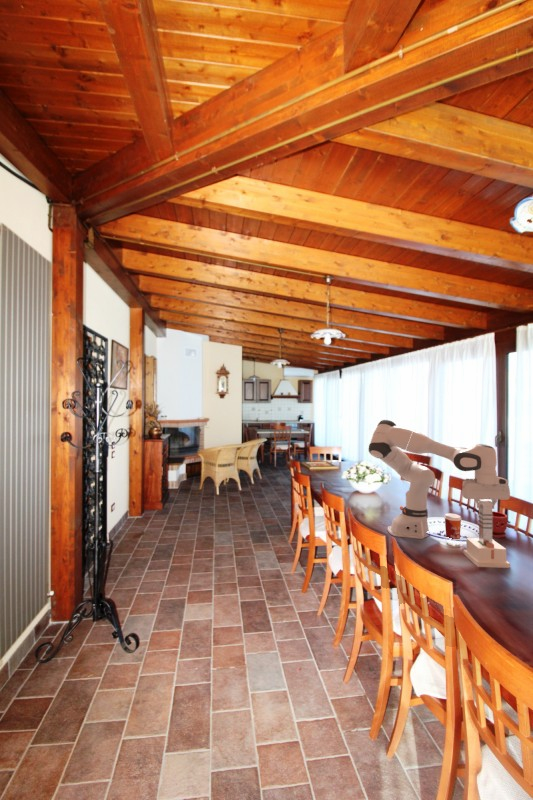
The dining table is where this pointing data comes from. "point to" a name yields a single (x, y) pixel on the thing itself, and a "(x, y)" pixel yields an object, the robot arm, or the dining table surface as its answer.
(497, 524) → the plant pot
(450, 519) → the coffee cup
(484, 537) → the column
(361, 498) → the dining table surface
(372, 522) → the dining table surface
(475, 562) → the sleeve stand
